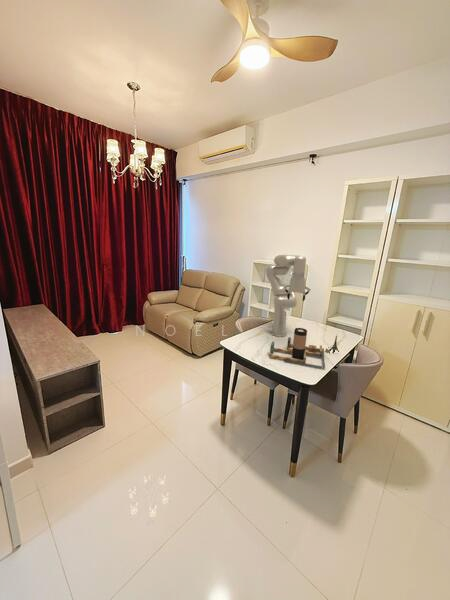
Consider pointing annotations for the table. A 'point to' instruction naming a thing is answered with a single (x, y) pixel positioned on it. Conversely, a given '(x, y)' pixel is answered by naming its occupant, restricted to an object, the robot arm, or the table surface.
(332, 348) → the eiffel tower figurine
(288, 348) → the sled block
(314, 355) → the lane frame
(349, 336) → the table surface
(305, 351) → the brown low piece
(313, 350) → the walnut block
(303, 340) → the travel mug
